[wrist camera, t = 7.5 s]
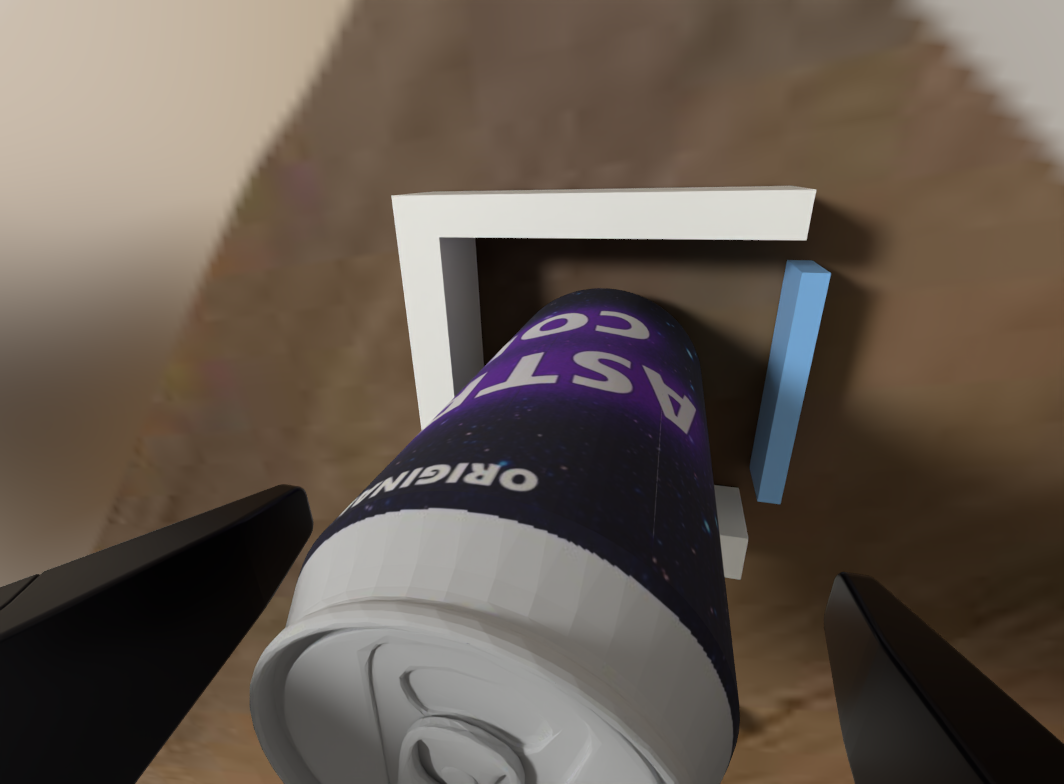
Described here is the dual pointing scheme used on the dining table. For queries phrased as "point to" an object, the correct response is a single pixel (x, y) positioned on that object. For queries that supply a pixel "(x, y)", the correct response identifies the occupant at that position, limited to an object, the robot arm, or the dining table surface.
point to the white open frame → (634, 213)
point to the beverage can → (523, 581)
